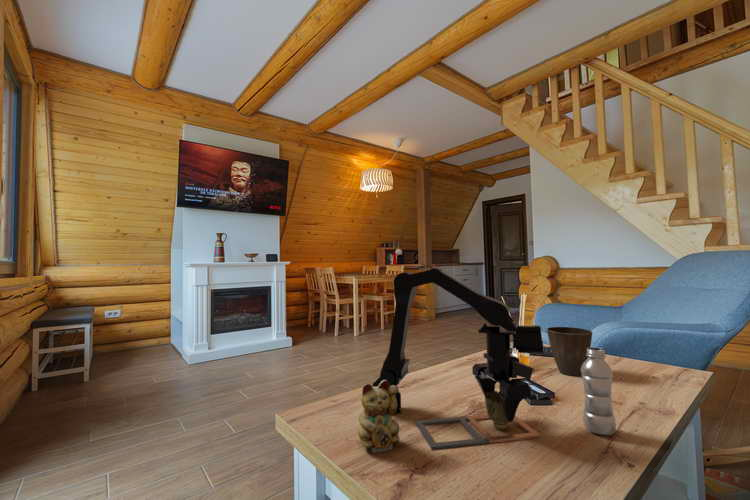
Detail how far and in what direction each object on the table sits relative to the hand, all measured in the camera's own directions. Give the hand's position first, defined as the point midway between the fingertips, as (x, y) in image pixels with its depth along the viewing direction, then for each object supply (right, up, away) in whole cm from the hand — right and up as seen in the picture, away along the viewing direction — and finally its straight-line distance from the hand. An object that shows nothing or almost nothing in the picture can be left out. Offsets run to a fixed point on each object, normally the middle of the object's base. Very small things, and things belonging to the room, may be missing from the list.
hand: (500, 413), depth 86 cm
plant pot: (+42, -5, +41) cm, 59 cm away
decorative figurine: (-31, -4, -7) cm, 32 cm away
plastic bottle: (+23, -3, -3) cm, 23 cm away
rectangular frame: (-7, -4, -1) cm, 8 cm away
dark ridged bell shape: (0, -4, 0) cm, 4 cm away
